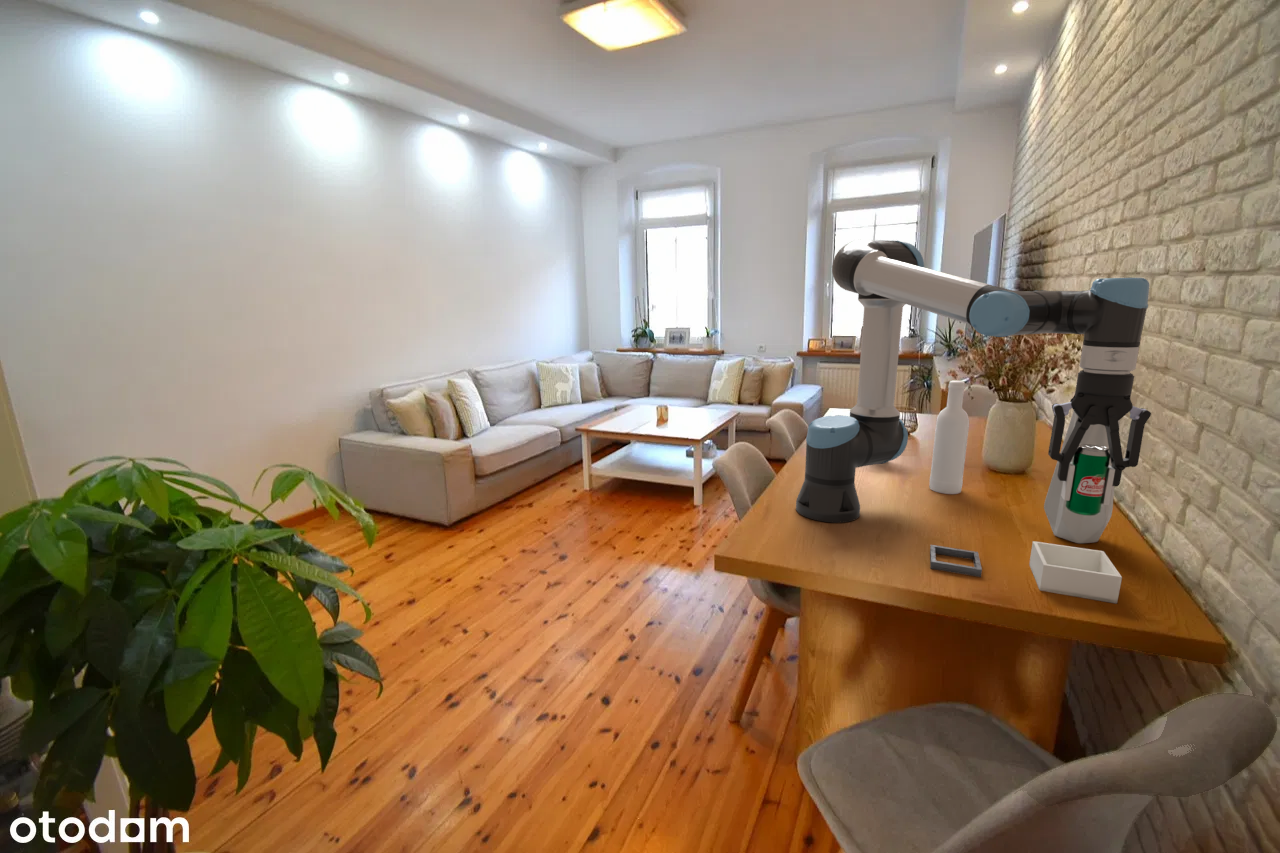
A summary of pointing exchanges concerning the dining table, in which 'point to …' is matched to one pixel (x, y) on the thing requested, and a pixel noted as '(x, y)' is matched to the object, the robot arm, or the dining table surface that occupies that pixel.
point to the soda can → (1088, 479)
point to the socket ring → (955, 567)
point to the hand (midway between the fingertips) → (1084, 500)
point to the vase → (1054, 506)
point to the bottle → (950, 443)
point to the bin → (1075, 572)
